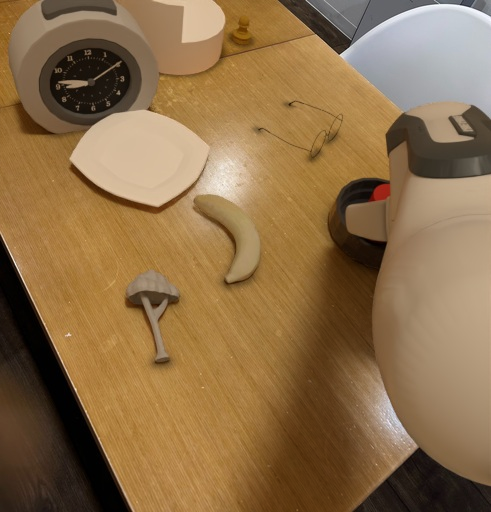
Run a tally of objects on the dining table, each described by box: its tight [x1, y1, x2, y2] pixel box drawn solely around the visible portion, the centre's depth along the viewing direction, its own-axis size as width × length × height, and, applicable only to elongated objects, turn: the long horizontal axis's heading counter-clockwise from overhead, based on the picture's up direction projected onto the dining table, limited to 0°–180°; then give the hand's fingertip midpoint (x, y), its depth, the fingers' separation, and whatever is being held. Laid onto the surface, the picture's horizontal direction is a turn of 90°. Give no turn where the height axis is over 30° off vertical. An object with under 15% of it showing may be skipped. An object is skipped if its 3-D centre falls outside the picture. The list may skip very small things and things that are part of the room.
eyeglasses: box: [257, 100, 344, 159], centre depth 88 cm, size 11×13×5 cm
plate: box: [68, 109, 211, 208], centre depth 78 cm, size 19×19×2 cm
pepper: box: [366, 184, 390, 244], centre depth 75 cm, size 6×6×9 cm
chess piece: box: [231, 15, 252, 46], centre depth 103 cm, size 4×4×5 cm
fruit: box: [193, 193, 262, 284], centre depth 72 cm, size 7×15×3 cm, turn 22°
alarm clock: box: [7, 0, 160, 135], centre depth 76 cm, size 21×8×20 cm, turn 114°
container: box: [118, 0, 226, 76], centre depth 94 cm, size 20×20×13 cm
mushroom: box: [125, 269, 181, 363], centre depth 62 cm, size 7×5×12 cm
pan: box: [328, 177, 390, 270], centre depth 77 cm, size 15×15×4 cm
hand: (384, 206), depth 75 cm, fingers closed on pepper, 6 cm apart
